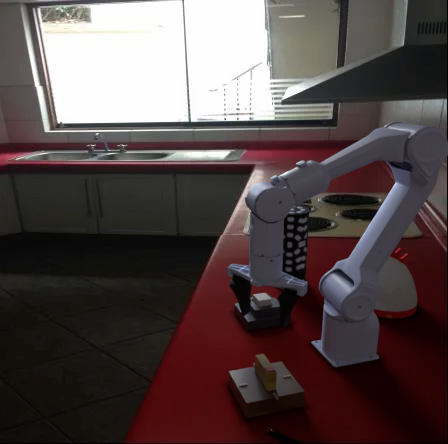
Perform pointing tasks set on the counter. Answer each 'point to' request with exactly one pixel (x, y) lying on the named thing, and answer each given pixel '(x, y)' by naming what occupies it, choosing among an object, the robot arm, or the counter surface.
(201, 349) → the counter surface
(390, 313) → the kitchen timer
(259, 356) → the yellow rectangular block
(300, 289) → the robot arm
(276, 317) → the grey stepped block
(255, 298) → the white square block
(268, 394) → the panel
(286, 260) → the white-spotted black cylinder
